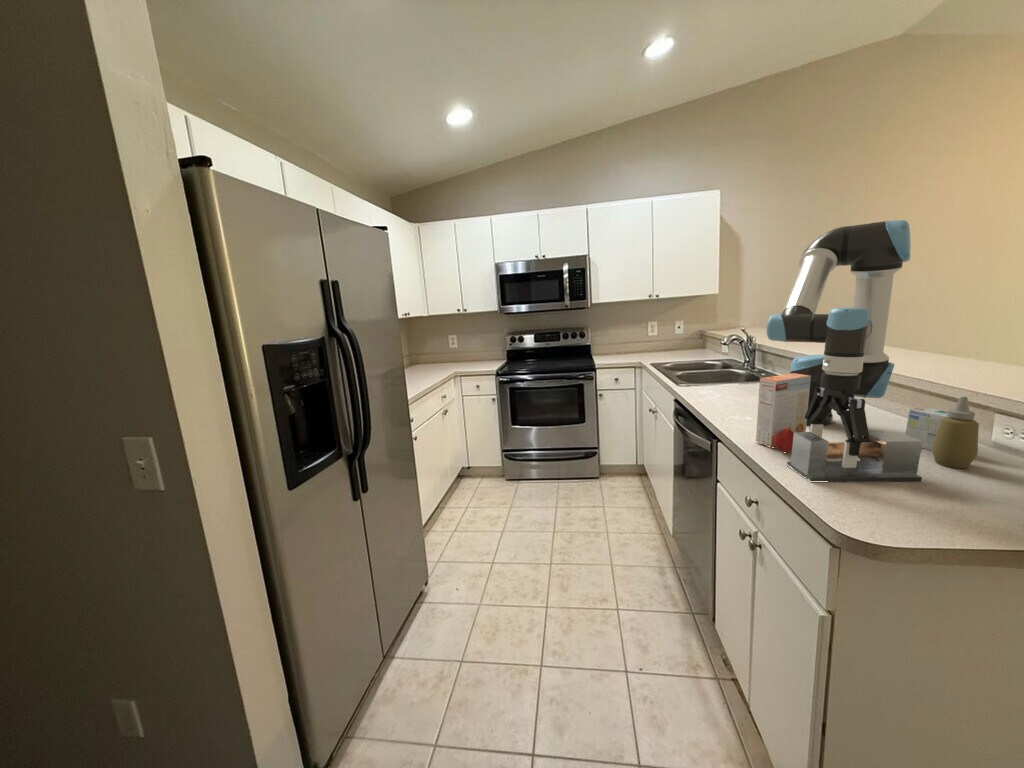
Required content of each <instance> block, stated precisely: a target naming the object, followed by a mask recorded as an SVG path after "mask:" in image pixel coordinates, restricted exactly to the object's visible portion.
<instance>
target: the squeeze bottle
mask: <svg viewBox="0 0 1024 768" xmlns="http://www.w3.org/2000/svg"><path fill="white" fill-rule="evenodd" d="M947 411H948V412H947V416H948V417H944V418H942V419H941V420H940V423H939V426H938V429H937V432H936V435H935V438H934V441H933V444H932V447H931V448H932V450H931V451H932V455H933V458H934V461H935V462H936V463H937V464H939V465H942V466H944V467H949V468H955V469H968V468H969V466H970V465H971V463H973V461H974V460H975V459H976V458H977V456H978V451H979V450H978V449H979V427H980V426H979V425H980V424H979V423H978V422H977V421H976V420H974V419H975V416H976V415H975V414H976V412H975V411H973V410H970V407H969V399H968V397H967V396H960V397H959V399H958V401H957V402H956V405H955V407H954V408H949V409H947Z"/></svg>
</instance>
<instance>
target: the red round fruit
mask: <svg viewBox="0 0 1024 768" xmlns="http://www.w3.org/2000/svg"><path fill="white" fill-rule="evenodd" d="M793 436H794V432H793V431H791V428H790V427H786V428H785V429H783V430H781V431H779V432H778V433H777V434H776V436H775V438H774V443H775V445H776V448H777V449H778V450H780V452H782V453H784V452H786V453H785V454H789V453H791V452H792V445H793Z"/></svg>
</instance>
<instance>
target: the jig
mask: <svg viewBox="0 0 1024 768" xmlns="http://www.w3.org/2000/svg"><path fill="white" fill-rule="evenodd" d="M868 432H869V438H870V441H869V442H878V443H881V444H882V445H881V451H880V458H859V460H857V465H856V468H844V467H842V460H830V461H828V459H827V451H828V443H830V442H829V440H827V439H825V438H824V437H822V438H821V437H819V436H817V435H815V434H813V433H811V432H810V431H806V432H794V436H793V445H792V451H791V456H790V457H791V458H790V461H787V462H786V465H787V464H788V465H789V466H791V467H792V468H793V469H794V470H795V471H797V472H798V473H800V474H801V475H802V476H804V477H806V478H807V479H809V480H810V481H828V482H827V483H920V482H921V483H922V482H923V476H921V475H920V474H918V469H919V464H920V458H921V454H922V453H921V451H922V448H921V447H922V442H923V441H921V440H918V439H915V438H913V437H910V436H907V435H905V434H906V433H905V434H904V433H902V432H900V431H868ZM794 470H793V471H794ZM795 471H794V472H795ZM798 473H797V474H798ZM801 475H800V476H801ZM802 476H801V477H802ZM804 477H803V478H804Z"/></svg>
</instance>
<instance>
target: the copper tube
mask: <svg viewBox="0 0 1024 768" xmlns="http://www.w3.org/2000/svg"><path fill="white" fill-rule="evenodd" d="M844 445H845V441H844V442H842V441H841V442H838V441H837V442H829V443H828V451H827V459H826V460H832V459H834V460H835V459H836V460H838V459H839V460H840V459H842V460H843V452H844ZM881 445H882V444H881V443H878V442H862V443H861V444H860V451H859V455H858V457H857V459H860V458H880V451H881Z"/></svg>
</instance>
